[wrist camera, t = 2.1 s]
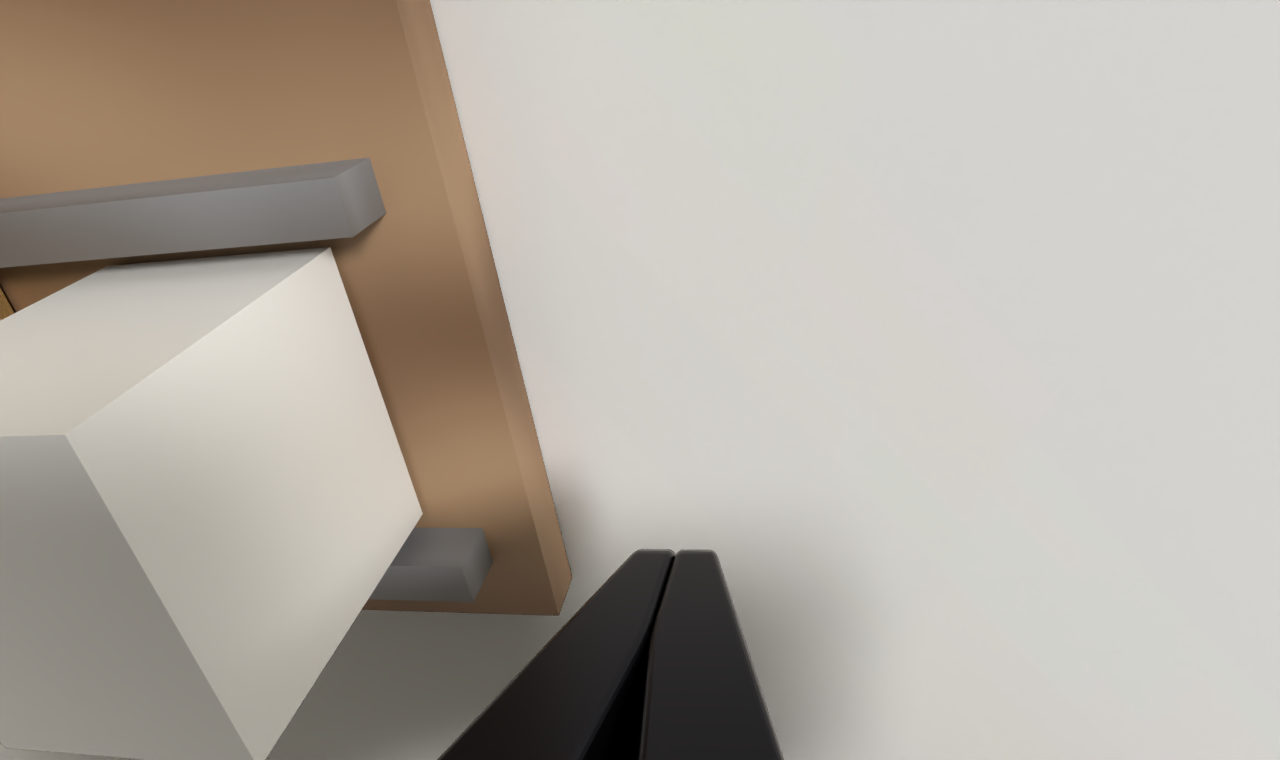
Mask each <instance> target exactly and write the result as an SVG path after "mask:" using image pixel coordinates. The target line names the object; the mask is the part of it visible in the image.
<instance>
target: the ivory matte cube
mask: <svg viewBox="0 0 1280 760" xmlns="http://www.w3.org/2000/svg"><path fill="white" fill-rule="evenodd" d="M422 514H423V513H422V510H421V507H420V504H419V501H418V499H417V496H416V493H415V490H414V487H413V484H412V481H411V478H410V476H409V473H408V470H407V467H406V464H405V461H404V458H403V455H402V452H401V450H400V447H399V444H398V441H397V438H396V435H395V432H394V429H393V426H392V424H391V421H390V418H389V415H388V412H387V409H386V406H385V403H384V401H383V398H382V395H381V392H380V389H379V386H378V383H377V380H376V377H375V375H374V372H373V369H372V366H371V363H370V360H369V357H368V354H367V352H366V349H365V346H364V343H363V340H362V337H361V334H360V331H359V328H358V326H357V323H356V320H355V317H354V314H353V311H352V308H351V305H350V302H349V300H348V297H347V294H346V291H345V288H344V285H343V282H342V279H341V277H340V274H339V271H338V268H337V265H336V262H335V259H334V256H333V253H332V251H331V248H330V247H325V248H313V249H301V250H289V251H278V252H266V253H254V254H242V255H230V256H218V257H207V258H195V259H183V260H171V261H159V262H147V263H136V264H124V265H112V266H106V267H104V268H102V269H100V270H98V271H96V272H95V273H93V274H91V275H89V276H87V277H85V278H83V279H81V280H79V281H77V282H75V283H73V284H71V285H69V286H67V287H65V288H63V289H61V290H59V291H57V292H55V293H53V294H51V295H50V296H48V297H46V298H44V299H42V300H40V301H38V302H36V303H34V304H32V305H30V306H28V307H26V308H24V309H22V310H20V311H18V312H16V313H14V314H12V315H10V316H8V317H6V318H4V319H3V320H1V321H0V743H1V744H2V745H3V747H4V748H10V749H22V750H34V751H46V752H58V753H70V754H82V755H93V756H105V757H117V758H129V759H141V760H266V758H267V756H268V755H269V753H270V752H271V750H272V749H273V747H274V745H275V744H276V742H277V741H278V739H279V738H280V736H281V735H282V733H283V731H284V730H285V728H286V727H287V725H288V724H289V722H290V720H291V719H292V717H293V716H294V714H295V713H296V711H297V710H298V708H299V706H300V705H301V703H302V702H303V700H304V699H305V697H306V695H307V694H308V692H309V691H310V689H311V688H312V686H313V685H314V683H315V681H316V680H317V678H318V677H319V675H320V674H321V672H322V670H323V669H324V667H325V666H326V664H327V663H328V661H329V660H330V658H331V656H332V655H333V653H334V652H335V650H336V649H337V647H338V645H339V644H340V642H341V641H342V639H343V638H344V636H345V635H346V633H347V631H348V630H349V628H350V627H351V625H352V624H353V622H354V621H355V619H356V617H357V616H358V614H359V613H360V611H361V610H362V608H363V606H364V605H365V603H366V602H367V600H368V599H369V597H370V596H371V594H372V592H373V591H374V589H375V588H376V586H377V585H378V583H379V581H380V580H381V578H382V577H383V575H384V574H385V572H386V571H387V569H388V567H389V566H390V564H391V563H392V561H393V560H394V558H395V556H396V555H397V553H398V552H399V550H400V549H401V547H402V546H403V544H404V542H405V541H406V539H407V538H408V536H409V535H410V533H411V531H412V530H413V528H414V527H415V525H416V524H417V522H418V521H419V519H420V517H421V516H422Z"/></svg>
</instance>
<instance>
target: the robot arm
mask: <svg viewBox="0 0 1280 760" xmlns="http://www.w3.org/2000/svg"><path fill="white" fill-rule="evenodd" d="M437 760H784V758H783V755H782V752H781V749H780V746H779V743H778V740H777V737H776V734H775V731H774V728H773V725H772V722H771V719H770V715H769V712H768V709H767V706H766V703H765V700H764V697H763V694H762V691H761V688H760V685H759V682H758V679H757V676H756V673H755V669H754V666H753V663H752V660H751V657H750V654H749V651H748V648H747V645H746V642H745V639H744V636H743V633H742V630H741V627H740V623H739V620H738V617H737V614H736V611H735V608H734V605H733V602H732V599H731V596H730V593H729V590H728V587H727V584H726V581H725V577H724V574H723V571H722V568H721V565H720V562H719V559H718V556H717V554H716V553H715V552H714V551H713V550H680V551H679V552H677V553H676V554H675V552H673V551H672V550H669V549H640V550H637V551H636V552H634V553H633V554H632V555H631V556H630V557H629V558H628V559H627V560H626V561H625V562H624V563H623V564H622V565H621V566H620V567H619V568H618V570H617V571H616V572H615V573H614V574H613V575H612V576H611V577H610V578H609V579H608V580H607V581H606V582H605V583H604V584H603V585H602V586H601V587H600V588H599V590H598V591H597V592H596V593H595V594H594V595H593V596H592V597H591V598H590V599H589V600H588V601H587V602H586V603H585V604H584V605H583V606H582V607H581V608H580V610H579V611H578V612H577V613H576V614H575V615H574V616H573V617H572V618H571V619H570V620H569V621H568V622H567V623H566V624H565V625H564V626H563V627H562V628H561V630H560V631H559V632H558V633H557V634H556V635H555V636H554V637H553V638H552V639H551V640H550V641H549V642H548V643H547V644H546V645H545V646H544V647H543V648H542V650H541V651H540V652H539V653H538V654H537V655H536V656H535V657H534V658H533V659H532V660H531V661H530V662H529V663H528V664H527V665H526V666H525V667H524V669H523V670H522V671H521V672H520V673H519V674H518V675H517V676H516V677H515V678H514V679H513V680H512V681H511V682H510V683H509V684H508V685H507V686H506V687H505V689H504V690H503V691H502V692H501V693H500V694H499V695H498V696H497V697H496V698H495V699H494V700H493V701H492V702H491V703H490V704H489V705H488V706H487V707H486V709H485V710H484V711H483V712H482V713H481V714H480V715H479V716H478V717H477V718H476V719H475V720H474V721H473V722H472V723H471V724H470V725H469V726H468V727H467V729H466V730H465V731H464V732H463V733H462V734H461V735H460V736H459V737H458V738H457V739H456V740H455V741H454V742H453V743H452V744H451V745H450V746H449V747H448V749H447V750H446V751H445V752H444V753H443V754H442V755H441V756H440V757H439V758H438V759H437Z"/></svg>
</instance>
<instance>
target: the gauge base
mask: <svg viewBox="0 0 1280 760" xmlns="http://www.w3.org/2000/svg"><path fill="white" fill-rule="evenodd" d="M325 247H330V248H331V251H332V253H333V256H334V259H335V262H336V265H337V268H338V271H339V274H340V277H341V279H342V282H343V285H344V288H345V291H346V294H347V297H348V300H349V302H350V305H351V308H352V311H353V314H354V317H355V320H356V323H357V326H358V328H359V331H360V334H361V337H362V340H363V343H364V346H365V349H366V352H367V354H368V357H369V360H370V363H371V366H372V369H373V372H374V375H375V377H376V380H377V383H378V386H379V389H380V392H381V395H382V398H383V401H384V403H385V406H386V409H387V412H388V415H389V418H390V421H391V424H392V426H393V429H394V432H395V435H396V438H397V441H398V444H399V447H400V450H401V452H402V455H403V458H404V461H405V464H406V467H407V470H408V473H409V476H410V478H411V481H412V484H413V487H414V490H415V493H416V496H417V499H418V501H419V504H420V507H421V510H422V513H423V514H422V516H421V517H420V519H419V521H418V522H417V524H416V525H415V527H414V528H413V530H412V531H411V533H410V535H409V536H408V538H407V539H406V541H405V542H404V544H403V546H402V547H401V549H400V550H399V552H398V553H397V555H396V556H395V558H394V560H393V561H392V563H391V564H390V566H389V567H388V569H387V571H386V572H385V574H384V575H383V577H382V578H381V580H380V581H379V583H378V585H377V586H376V588H375V589H374V591H373V592H372V594H371V596H370V597H369V599H368V600H367V602H366V603H365V605H364V606H363V608H362V610H391V611H424V612H456V613H489V614H521V615H554V616H559V614H560V611H561V608H562V605H563V602H564V600H565V597H566V594H567V591H568V588H569V586H570V583H571V580H572V575H571V571H570V567H569V563H568V559H567V555H566V551H565V547H564V543H563V539H562V535H561V531H560V527H559V523H558V518H557V514H556V510H555V506H554V502H553V498H552V494H551V490H550V486H549V482H548V478H547V474H546V470H545V466H544V462H543V458H542V454H541V450H540V446H539V442H538V437H537V433H536V429H535V425H534V421H533V417H532V413H531V409H530V405H529V401H528V397H527V393H526V389H525V385H524V381H523V377H522V373H521V369H520V365H519V361H518V356H517V352H516V348H515V344H514V340H513V336H512V332H511V328H510V324H509V320H508V316H507V312H506V308H505V304H504V300H503V296H502V292H501V288H500V284H499V279H498V275H497V271H496V267H495V263H494V259H493V255H492V251H491V247H490V243H489V239H488V235H487V231H486V227H485V223H484V219H483V215H482V211H481V207H480V203H479V198H478V194H477V190H476V186H475V182H474V178H473V174H472V170H471V166H470V162H469V158H468V154H467V150H466V146H465V142H464V138H463V134H462V130H461V126H460V122H459V117H458V113H457V109H456V105H455V101H454V97H453V93H452V89H451V85H450V81H449V77H448V73H447V69H446V65H445V61H444V57H443V53H442V49H441V45H440V40H439V36H438V32H437V28H436V24H435V20H434V16H433V12H432V8H431V4H430V0H0V288H1V290H2V292H3V294H4V296H5V297H6V299H7V301H8V303H9V304H10V306H11V308H12V310H13V311H14V313H16V312H18V311H20V310H22V309H24V308H26V307H28V306H30V305H32V304H34V303H36V302H38V301H40V300H42V299H44V298H46V297H48V296H50V295H51V294H53V293H55V292H57V291H59V290H61V289H63V288H65V287H67V286H69V285H71V284H73V283H75V282H77V281H79V280H81V279H83V278H85V277H87V276H89V275H91V274H93V273H95V272H96V271H98V270H100V269H102V268H104V267H106V266H112V265H124V264H136V263H147V262H159V261H171V260H183V259H195V258H207V257H218V256H230V255H242V254H254V253H266V252H278V251H289V250H301V249H313V248H325Z"/></svg>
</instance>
